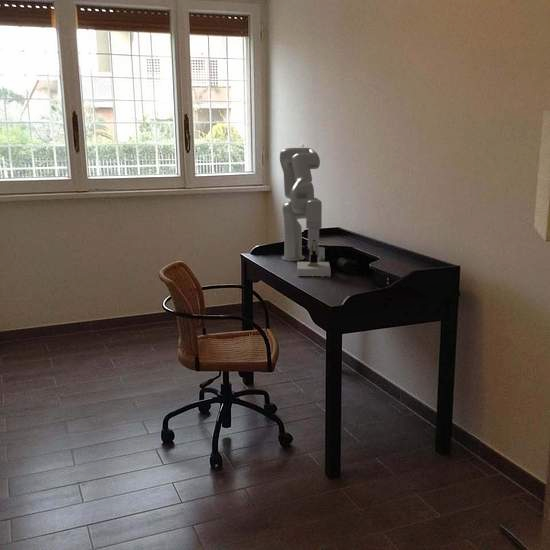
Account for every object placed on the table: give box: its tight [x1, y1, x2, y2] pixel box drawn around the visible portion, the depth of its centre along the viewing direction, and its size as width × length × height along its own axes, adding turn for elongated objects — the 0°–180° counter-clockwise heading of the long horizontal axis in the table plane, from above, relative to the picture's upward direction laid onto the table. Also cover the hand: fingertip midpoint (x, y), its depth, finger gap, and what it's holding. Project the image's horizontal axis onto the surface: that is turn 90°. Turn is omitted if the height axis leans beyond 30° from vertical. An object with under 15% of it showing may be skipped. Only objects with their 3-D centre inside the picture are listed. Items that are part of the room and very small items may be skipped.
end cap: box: [336, 256, 358, 275], centre depth 317 cm, size 10×7×7 cm
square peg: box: [309, 247, 318, 267], centre depth 313 cm, size 4×4×10 cm
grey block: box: [318, 246, 326, 262], centre depth 328 cm, size 7×7×10 cm
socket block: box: [296, 261, 332, 278], centre depth 315 cm, size 16×16×4 cm
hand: (313, 261), depth 314 cm, fingers closed on square peg, 4 cm apart
